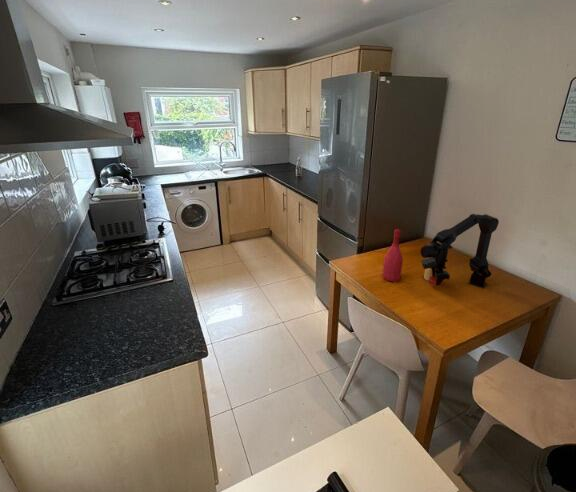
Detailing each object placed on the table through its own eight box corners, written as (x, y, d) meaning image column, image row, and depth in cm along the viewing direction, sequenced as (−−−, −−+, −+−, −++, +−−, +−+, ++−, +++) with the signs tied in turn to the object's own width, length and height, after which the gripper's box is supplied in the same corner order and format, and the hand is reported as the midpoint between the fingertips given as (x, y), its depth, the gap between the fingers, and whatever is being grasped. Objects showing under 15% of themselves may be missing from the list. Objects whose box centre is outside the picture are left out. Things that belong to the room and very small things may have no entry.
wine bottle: (402, 282, 168) (410, 232, 157) (384, 282, 168) (391, 232, 157) (396, 273, 177) (403, 226, 166) (380, 273, 177) (386, 226, 167)
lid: (426, 282, 161) (427, 279, 160) (430, 277, 166) (431, 274, 165) (440, 287, 157) (440, 284, 156) (443, 282, 162) (444, 279, 161)
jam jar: (436, 278, 172) (439, 264, 170) (433, 282, 168) (436, 268, 165) (425, 274, 176) (428, 261, 173) (422, 278, 172) (424, 265, 169)
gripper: (420, 247, 166) (415, 272, 171) (428, 262, 149) (423, 290, 154) (441, 248, 164) (436, 273, 169) (453, 264, 147) (447, 292, 152)
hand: (435, 281), depth 161 cm, fingers closed on lid, 6 cm apart
